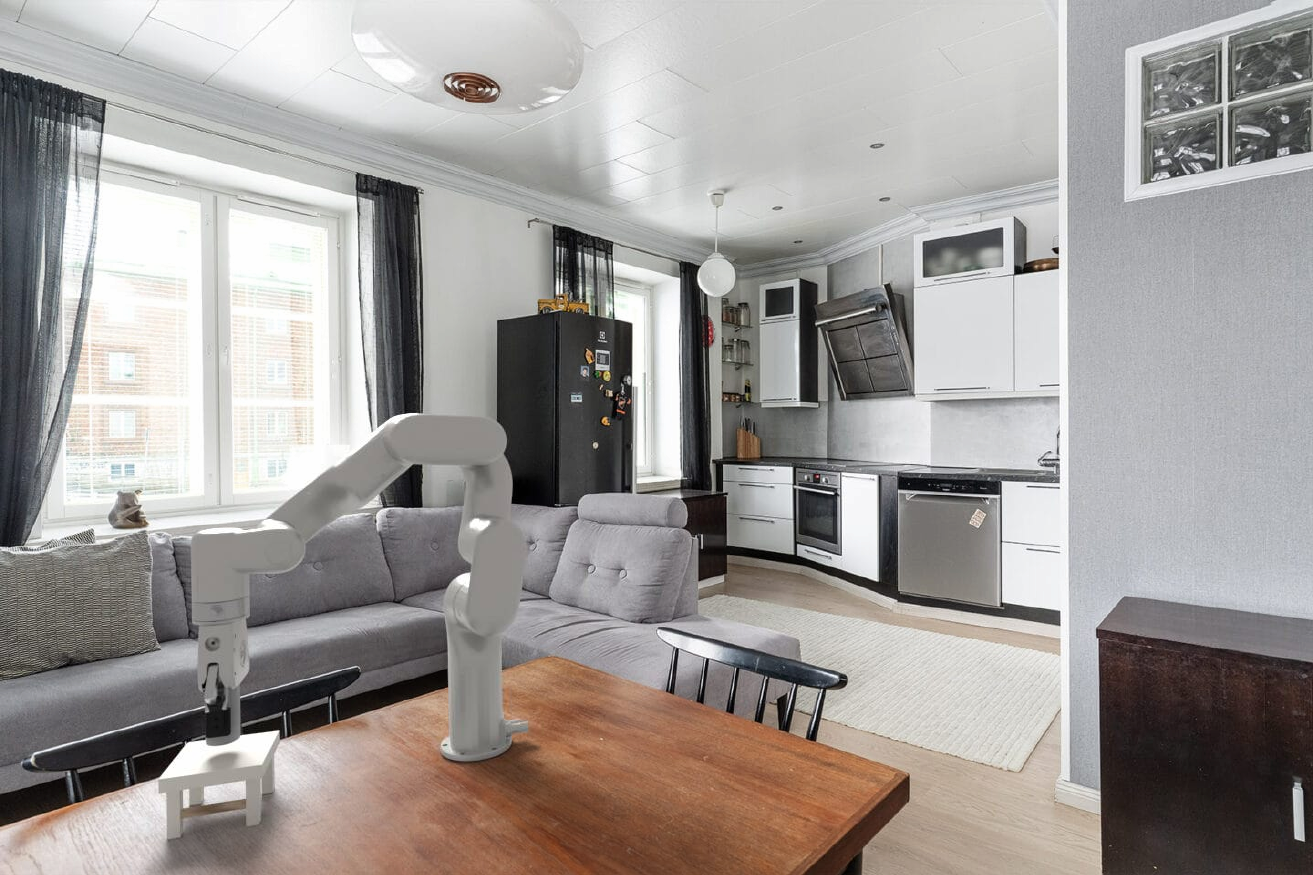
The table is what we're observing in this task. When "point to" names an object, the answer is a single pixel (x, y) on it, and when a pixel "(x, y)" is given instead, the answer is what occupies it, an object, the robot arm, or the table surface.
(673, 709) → the table surface
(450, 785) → the table surface
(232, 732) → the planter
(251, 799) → the stool
